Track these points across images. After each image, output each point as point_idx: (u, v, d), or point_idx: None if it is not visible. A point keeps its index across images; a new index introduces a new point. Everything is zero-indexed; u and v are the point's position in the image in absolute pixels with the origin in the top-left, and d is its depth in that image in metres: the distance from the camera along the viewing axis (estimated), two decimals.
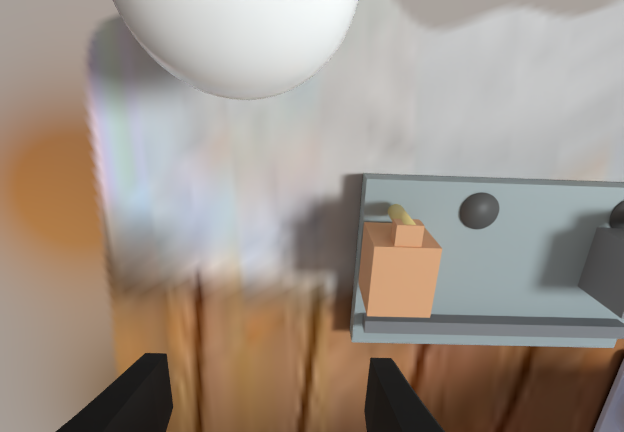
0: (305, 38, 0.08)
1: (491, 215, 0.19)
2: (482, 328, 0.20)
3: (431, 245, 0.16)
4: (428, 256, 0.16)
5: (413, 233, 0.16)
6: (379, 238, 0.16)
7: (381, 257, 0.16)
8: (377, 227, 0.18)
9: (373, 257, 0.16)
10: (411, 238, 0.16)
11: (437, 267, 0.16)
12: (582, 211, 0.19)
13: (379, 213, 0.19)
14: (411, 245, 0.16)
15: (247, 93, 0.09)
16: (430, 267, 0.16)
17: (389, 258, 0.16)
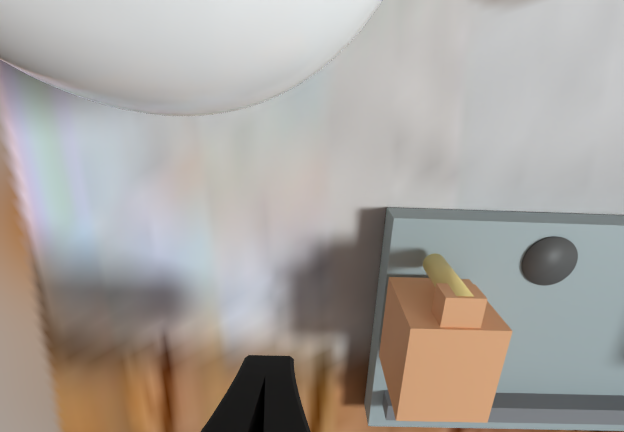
0: None
1: (566, 266, 0.13)
2: (545, 414, 0.15)
3: (495, 325, 0.11)
4: (490, 341, 0.11)
5: (469, 309, 0.10)
6: (415, 310, 0.11)
7: (420, 342, 0.11)
8: (408, 287, 0.13)
9: (408, 342, 0.11)
10: (466, 316, 0.10)
11: (503, 356, 0.11)
12: None
13: (409, 264, 0.13)
14: (466, 326, 0.10)
15: (175, 104, 0.04)
16: (492, 356, 0.11)
17: (432, 344, 0.11)
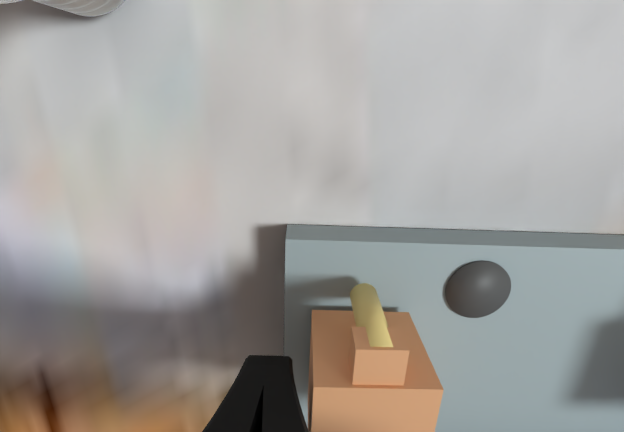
0: None
1: (498, 295, 0.11)
2: None
3: (423, 381, 0.08)
4: (417, 402, 0.08)
5: (388, 363, 0.08)
6: (328, 358, 0.09)
7: (328, 404, 0.08)
8: (331, 324, 0.10)
9: (313, 403, 0.08)
10: (384, 371, 0.08)
11: (434, 419, 0.09)
12: None
13: (310, 293, 0.11)
14: (384, 383, 0.08)
15: None
16: (421, 419, 0.09)
17: (343, 406, 0.08)
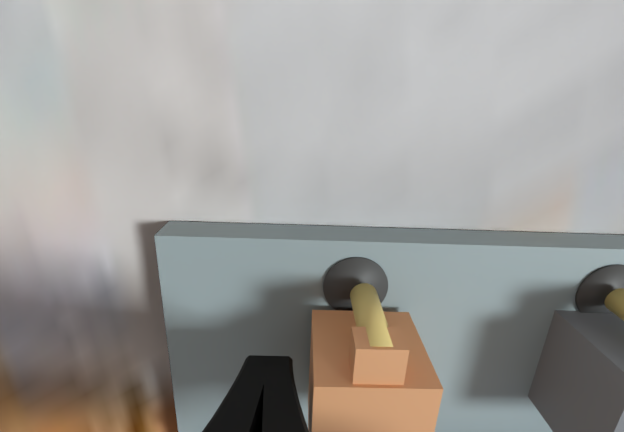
0: None
1: (377, 292, 0.11)
2: None
3: (423, 381, 0.08)
4: (417, 402, 0.08)
5: (387, 362, 0.08)
6: (328, 358, 0.09)
7: (328, 403, 0.08)
8: (331, 324, 0.10)
9: (313, 403, 0.08)
10: (384, 371, 0.08)
11: (434, 418, 0.09)
12: (529, 285, 0.11)
13: (187, 290, 0.11)
14: (384, 383, 0.08)
15: None
16: (421, 419, 0.09)
17: (343, 405, 0.08)
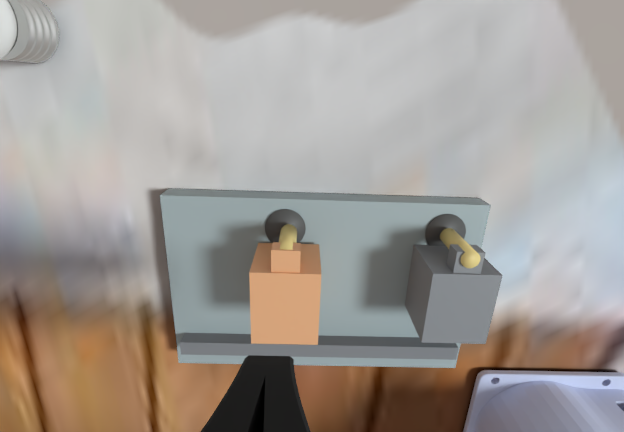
0: None
1: (299, 232, 0.18)
2: (305, 349, 0.19)
3: (312, 271, 0.15)
4: (307, 282, 0.15)
5: (289, 258, 0.15)
6: (261, 262, 0.16)
7: (258, 283, 0.15)
8: (268, 249, 0.17)
9: (250, 283, 0.15)
10: (288, 263, 0.15)
11: (318, 293, 0.15)
12: (395, 227, 0.18)
13: (180, 230, 0.18)
14: (288, 271, 0.15)
15: None
16: (311, 293, 0.15)
17: (266, 284, 0.15)
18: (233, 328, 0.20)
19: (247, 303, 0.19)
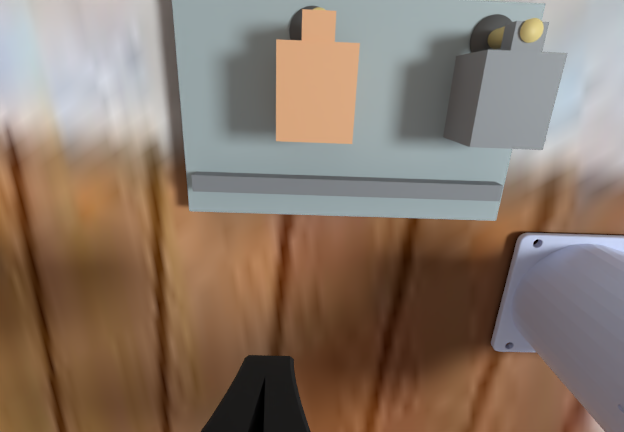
0: None
1: None
2: (331, 186, 0.17)
3: (348, 43, 0.13)
4: (343, 54, 0.13)
5: (323, 22, 0.13)
6: None
7: (286, 55, 0.13)
8: None
9: (277, 56, 0.13)
10: (321, 29, 0.13)
11: (355, 71, 0.13)
12: (436, 33, 0.16)
13: (193, 35, 0.16)
14: (322, 39, 0.13)
15: None
16: (347, 70, 0.13)
17: (296, 57, 0.13)
18: (251, 166, 0.18)
19: (267, 133, 0.17)
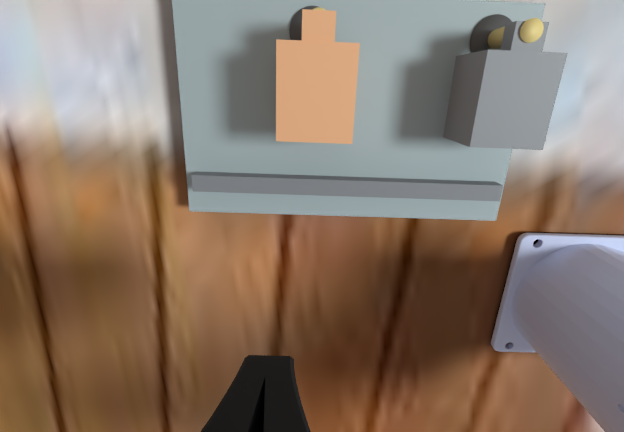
0: None
1: None
2: (331, 186, 0.17)
3: (348, 43, 0.13)
4: (343, 54, 0.13)
5: (323, 22, 0.13)
6: None
7: (286, 55, 0.13)
8: None
9: (277, 56, 0.13)
10: (321, 29, 0.13)
11: (355, 71, 0.13)
12: (436, 33, 0.16)
13: (193, 35, 0.16)
14: (322, 39, 0.13)
15: None
16: (347, 70, 0.13)
17: (296, 57, 0.13)
18: (251, 166, 0.18)
19: (267, 133, 0.17)
